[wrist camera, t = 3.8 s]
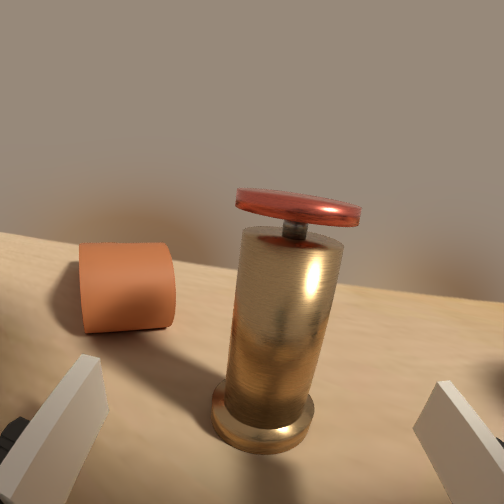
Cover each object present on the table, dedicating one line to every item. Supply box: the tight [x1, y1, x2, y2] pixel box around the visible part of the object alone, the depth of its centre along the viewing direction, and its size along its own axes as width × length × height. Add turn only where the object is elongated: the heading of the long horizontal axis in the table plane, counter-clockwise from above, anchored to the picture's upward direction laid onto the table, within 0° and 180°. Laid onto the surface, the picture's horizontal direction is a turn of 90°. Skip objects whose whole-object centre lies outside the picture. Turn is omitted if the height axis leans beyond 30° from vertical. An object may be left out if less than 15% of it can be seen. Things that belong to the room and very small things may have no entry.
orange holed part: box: [79, 242, 176, 333], centre depth 32 cm, size 20×8×8 cm, turn 30°
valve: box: [211, 188, 361, 455], centre depth 16 cm, size 6×6×14 cm
